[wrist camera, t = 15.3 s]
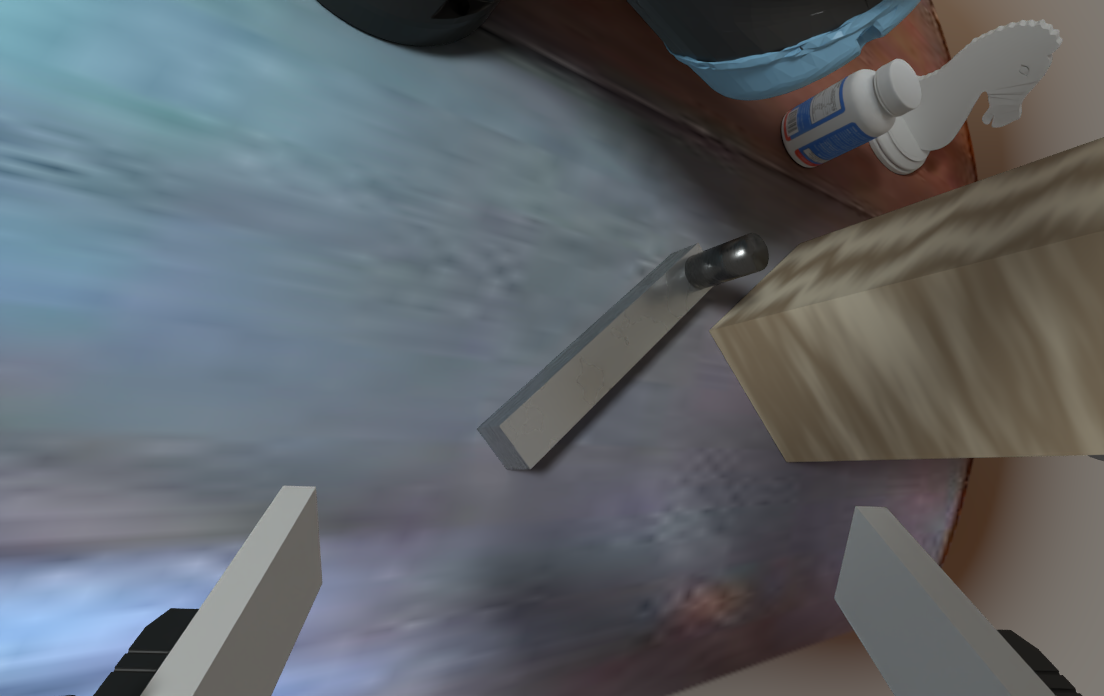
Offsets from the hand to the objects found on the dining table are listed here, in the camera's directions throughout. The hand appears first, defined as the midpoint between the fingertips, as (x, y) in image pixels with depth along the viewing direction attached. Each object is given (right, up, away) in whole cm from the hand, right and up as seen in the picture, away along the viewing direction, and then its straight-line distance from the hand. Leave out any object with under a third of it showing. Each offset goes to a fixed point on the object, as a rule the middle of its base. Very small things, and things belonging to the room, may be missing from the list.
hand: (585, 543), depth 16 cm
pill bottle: (+21, +23, +42) cm, 53 cm away
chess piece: (+33, +27, +51) cm, 66 cm away
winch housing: (+20, +3, +38) cm, 43 cm away
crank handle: (+2, +5, +27) cm, 28 cm away
